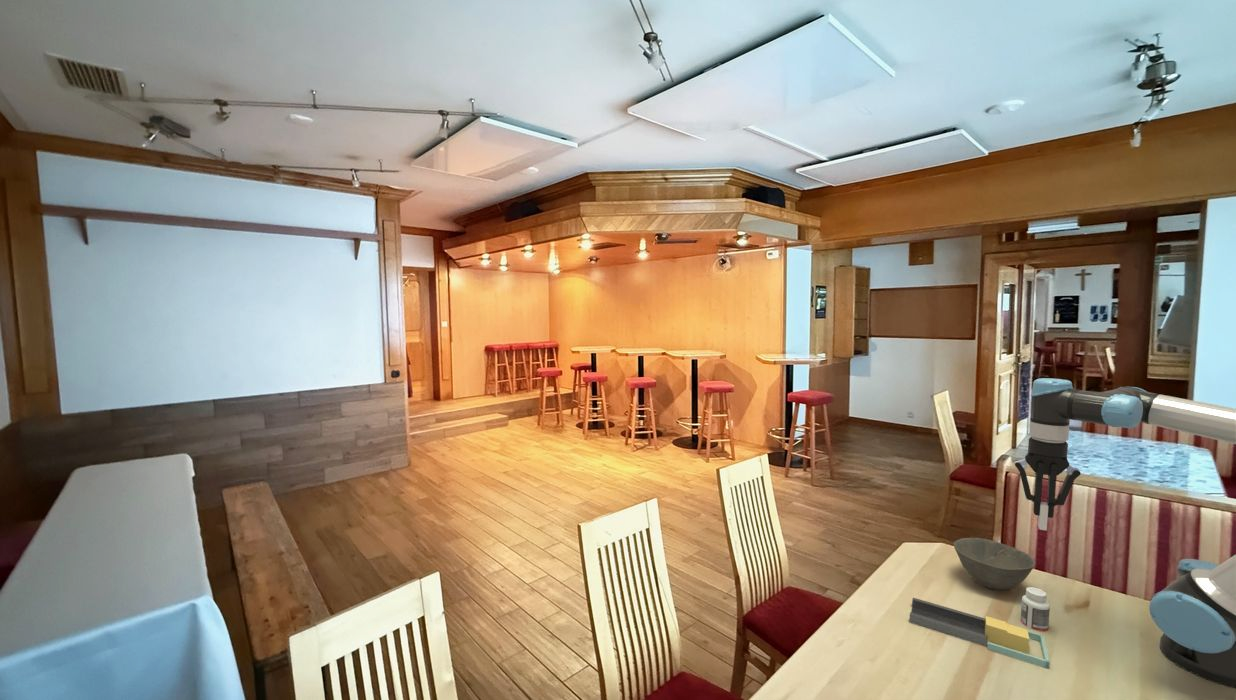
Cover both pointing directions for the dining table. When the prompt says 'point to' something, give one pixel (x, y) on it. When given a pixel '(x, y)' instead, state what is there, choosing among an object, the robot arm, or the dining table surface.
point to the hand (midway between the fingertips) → (1042, 527)
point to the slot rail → (949, 621)
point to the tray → (1024, 656)
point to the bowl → (993, 562)
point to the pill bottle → (1035, 609)
